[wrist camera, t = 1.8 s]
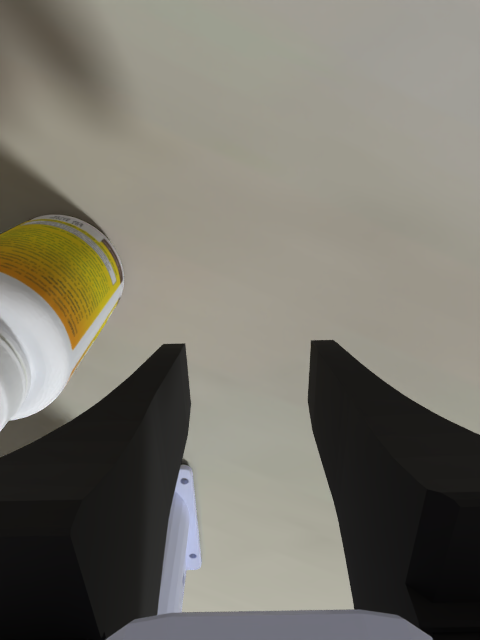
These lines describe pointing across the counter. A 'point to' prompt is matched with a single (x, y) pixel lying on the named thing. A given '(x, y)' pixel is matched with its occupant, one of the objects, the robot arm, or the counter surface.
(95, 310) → the supplement bottle
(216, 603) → the counter surface
